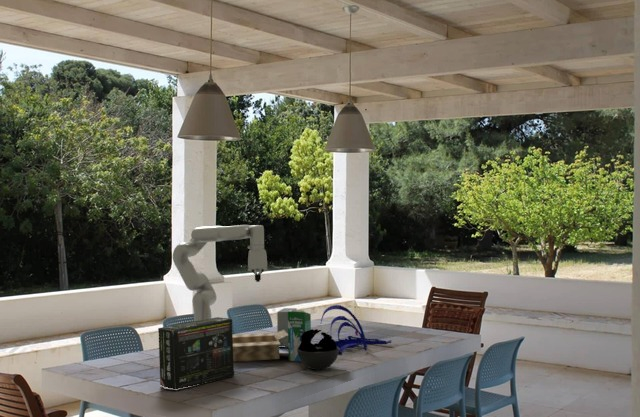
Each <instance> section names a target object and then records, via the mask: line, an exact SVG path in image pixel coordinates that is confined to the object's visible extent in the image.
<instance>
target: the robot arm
mask: <svg viewBox="0 0 640 417" xmlns="http://www.w3.org/2000/svg"><path fill="white" fill-rule="evenodd" d="M190 235H191V239H190V240H188V241H184V242H180V243H179V244H177V245H176V246H175V247H174V250H173V252H172V260H173V263H174V266H175V267H176V269H177V271H178V273H179V276H180V277H181V279H182V281H183V283H184V285H185V286H186V288H187V289H188V290H189V291H195V292H196V293H195V294H193V297H192V309H193V322H194V321H200V320H205V319H211V318H212V309H211V306H212V305H214V304H215V303H216V301H217V294H216V291H215V289H214V287H213V286H212V284H211V282H210V280H209V279H208V276H207V275H206V274H205V273H203V272H199V271H197V270H196V269H195V267H194V265H193V262H192V261H190V259H189V258H190V257H195V256H197V254H199V252H201V250H202V249H203V248H204V247H205V246H206V245H207V244H208V242H209V243H211V242H212V243H213V242H223V241H235V240H237V241H238V240H243V239H245V240H246V239H249V242H250V244H249V245H247V249H249V251H248V257H247V264H248V265H247V271H248V272H251V273H253V274H254V281H255V282H256V283H259V282H260V281H261V280H262V278H261V276H262V275H261V274H263V272H265V271H266V272H267V271H268V260H267V259H268V256H267V255H268V254H267V250H266V249H265V228H264V225H263V224H262V225H261V224H260V225H259V224H256V225H255V224H253V225H249V224H240V225H239V224H237V225H230V226H225V225H224V226H222V225H213V226H212V225H211V226H210V225H209V226H198V227H195V228H193V229H192V230H191V234H190ZM257 270H258V272H257Z"/></svg>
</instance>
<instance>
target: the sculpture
mask: <svg viewBox="0 0 640 417" xmlns="http://www.w3.org/2000/svg"><path fill="white" fill-rule="evenodd" d="M331 310H341V311H344V312H346V313H347V314H349V315H350V317H352V319H353V320H354V321H355V322H356V325H357V327H358V328H357V327H356V326H355V324H354V323H353V322H352V321H351V320H350V319H349V318H347V317H346V316H345V315H339V316H336V317H334V318H333V319H332V320H331V323H330V331H332V327H333V324H334V323H336V322H337V321H344V322H342V323H341V324H340V325H339V327H338V328H337V329H338V330H337V338H338V339H337V340H334V341H335V344H336V346H337V347H339V353H338V355H342V354H343V352H344V351H345V349H355V347H356V346H357V347H358V346H363V350H364V351H365V352H367V350H368V345H387V344H391V343H392V341H393V340H381V339H378V338H367V337H366V336H365V333H364V330H363V327H362V325H361V324H360V322H359V320H358V319H357V316H355V315H354V314H353V312H352V311H351V310H350V309H348V308H347V307H345V306H343V305H340V304H336V305H330V306H328V307H327V308H326V309H325V310H324V311H323V313H322V316H321V319H320V323H323V319H324V316H325V314H326V313H327V312H328V311H331ZM345 327H350V328H353V329H354V330H355V331H354V334H355V336H353V335H352V336H351V335H348V336H347V338H344V339H340V332H341V330H342V328H345ZM320 336H321V338H323V335H322V334H320ZM356 336H357V337H356ZM358 336H359V337H358Z"/></svg>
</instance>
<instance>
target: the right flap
mask: <svg viewBox="0 0 640 417" xmlns="http://www.w3.org/2000/svg"><path fill="white" fill-rule="evenodd" d="M274 335H275V336H276V338H277V339H278V340H281V339H283V338H286V337H288V334H287V333H286V332H285V330H282V331H280V332H275V333H274Z"/></svg>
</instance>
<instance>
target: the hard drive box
mask: <svg viewBox="0 0 640 417" xmlns="http://www.w3.org/2000/svg"><path fill="white" fill-rule="evenodd" d="M297 310H298V309H297V308H295V307H294V308H293V307H290V308H289V307H285V308H284V307H283V308H282V309H280V310H279V311H277V314H276V316H277V320H276V321H277V323H276V324H277V328H276V330H277V332H280V331H282V330H285V332H286V333H287V334H288V311H290V312H297ZM277 332H276V333H277ZM279 342H280V344H281V345H279V346H285V347H288V337H286V338H283V339H281V340H279Z"/></svg>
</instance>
